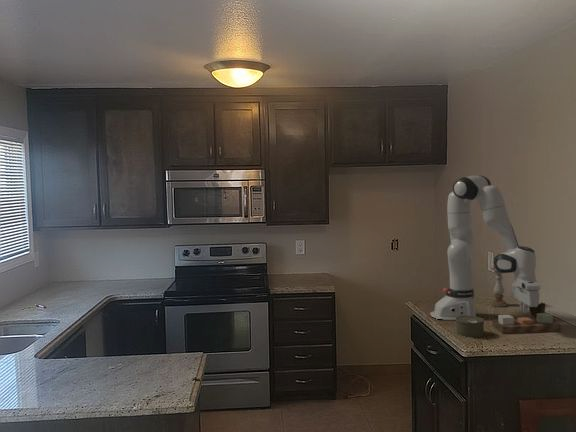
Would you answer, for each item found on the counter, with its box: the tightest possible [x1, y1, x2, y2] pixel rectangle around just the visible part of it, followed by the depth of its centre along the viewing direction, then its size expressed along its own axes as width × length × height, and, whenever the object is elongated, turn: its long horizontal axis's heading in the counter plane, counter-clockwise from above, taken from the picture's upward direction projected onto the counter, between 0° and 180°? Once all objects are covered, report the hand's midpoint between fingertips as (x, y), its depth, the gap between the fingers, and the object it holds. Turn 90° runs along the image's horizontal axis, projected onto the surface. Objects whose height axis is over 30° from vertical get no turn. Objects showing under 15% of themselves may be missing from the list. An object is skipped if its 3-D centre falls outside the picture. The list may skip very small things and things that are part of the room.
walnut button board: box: [491, 317, 561, 335], centre depth 246 cm, size 26×12×3 cm, turn 92°
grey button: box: [497, 314, 515, 325], centre depth 246 cm, size 5×5×4 cm
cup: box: [528, 302, 546, 318], centre depth 260 cm, size 8×7×8 cm
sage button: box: [537, 312, 554, 323], centre depth 246 cm, size 5×5×4 cm
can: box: [455, 315, 485, 338], centre depth 241 cm, size 12×12×7 cm
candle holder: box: [490, 266, 509, 308], centre depth 290 cm, size 9×9×20 cm
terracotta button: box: [516, 316, 533, 324], centre depth 246 cm, size 5×5×4 cm
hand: (523, 311), depth 246 cm, fingers closed
